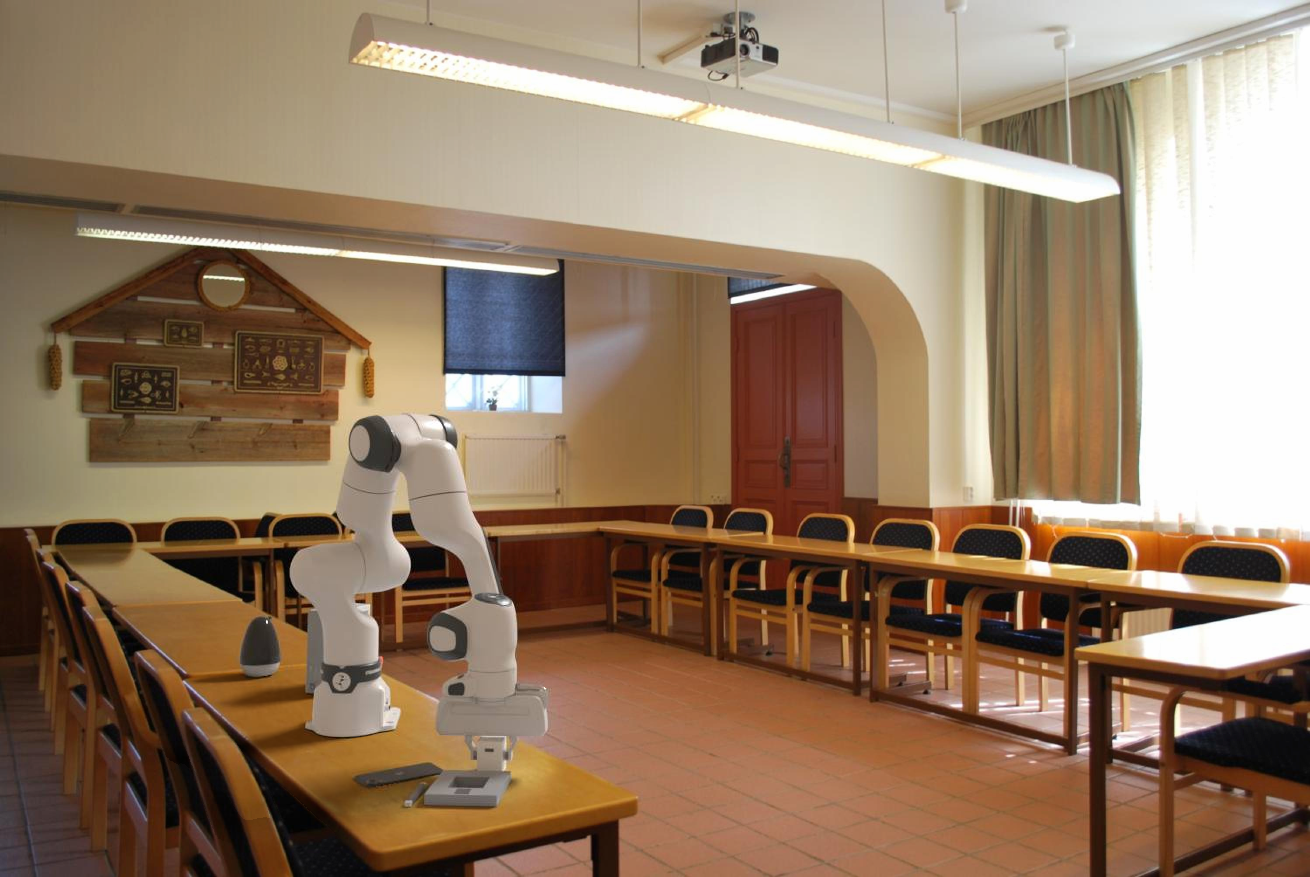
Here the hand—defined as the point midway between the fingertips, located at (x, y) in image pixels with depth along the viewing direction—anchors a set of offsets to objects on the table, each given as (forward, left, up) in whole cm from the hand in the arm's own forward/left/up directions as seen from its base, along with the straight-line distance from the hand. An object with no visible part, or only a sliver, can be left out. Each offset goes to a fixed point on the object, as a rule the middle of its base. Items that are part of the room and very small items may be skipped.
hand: (491, 759), depth 190 cm
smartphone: (+3, -16, -3) cm, 16 cm away
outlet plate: (+12, -1, -2) cm, 12 cm away
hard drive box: (-62, -50, -2) cm, 80 cm away
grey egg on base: (-75, -75, -2) cm, 106 cm away
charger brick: (0, 0, -2) cm, 2 cm away
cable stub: (+15, -10, -2) cm, 18 cm away
